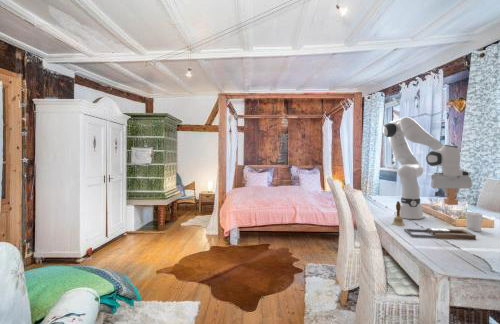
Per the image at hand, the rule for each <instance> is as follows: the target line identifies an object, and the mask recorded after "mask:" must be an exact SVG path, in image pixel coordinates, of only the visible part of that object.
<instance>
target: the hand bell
mask: <svg viewBox="0 0 500 324" xmlns="http://www.w3.org/2000/svg"><path fill="white" fill-rule="evenodd" d="M400 203H401V201H399V200H397V201H396V205H395V208H396V209H397V210H396V209H395V210H396V212H397V217H396V216H395V217H394V218H393V219H394V220H393V222H392V223H391V225H392V226H394V225H395V226H405V223H404V222H403V221H404V220H403V218H401V217H400V208H401V206H400ZM391 225H390V226H391Z"/></svg>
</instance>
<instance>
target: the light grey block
mask: <svg viewBox="0 0 500 324" xmlns="http://www.w3.org/2000/svg"><path fill="white" fill-rule="evenodd" d="M438 229H439V230H441V233H450V231H449V230H447V229H448V228H438Z"/></svg>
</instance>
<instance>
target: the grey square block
mask: <svg viewBox="0 0 500 324" xmlns="http://www.w3.org/2000/svg"><path fill="white" fill-rule="evenodd" d="M429 228H430V234H429V235H434V233H441V230H439V229H440V228H436V229H434V228H432V227H429Z"/></svg>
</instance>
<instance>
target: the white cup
mask: <svg viewBox="0 0 500 324" xmlns="http://www.w3.org/2000/svg"><path fill="white" fill-rule="evenodd" d="M465 222H466V229H468V230H471V231H472V232H481V231H482V223H483V213H480V212H475V211H474V212H473V211H472V212H471V211H469V212H467V211H466V212H465Z"/></svg>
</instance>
